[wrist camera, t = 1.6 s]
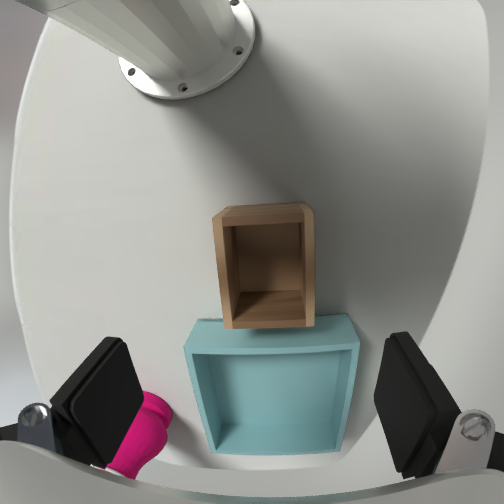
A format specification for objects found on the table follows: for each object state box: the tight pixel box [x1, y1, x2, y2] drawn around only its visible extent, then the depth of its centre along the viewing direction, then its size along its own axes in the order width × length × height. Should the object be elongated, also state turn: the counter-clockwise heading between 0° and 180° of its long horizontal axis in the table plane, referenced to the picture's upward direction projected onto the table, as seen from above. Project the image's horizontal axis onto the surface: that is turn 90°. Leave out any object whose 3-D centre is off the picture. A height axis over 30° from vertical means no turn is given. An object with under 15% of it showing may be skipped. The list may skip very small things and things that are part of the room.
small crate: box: [212, 202, 315, 329], centre depth 22 cm, size 8×6×6 cm
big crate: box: [183, 314, 360, 455], centre depth 26 cm, size 15×14×5 cm
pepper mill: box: [93, 391, 172, 480], centre depth 22 cm, size 7×7×20 cm
